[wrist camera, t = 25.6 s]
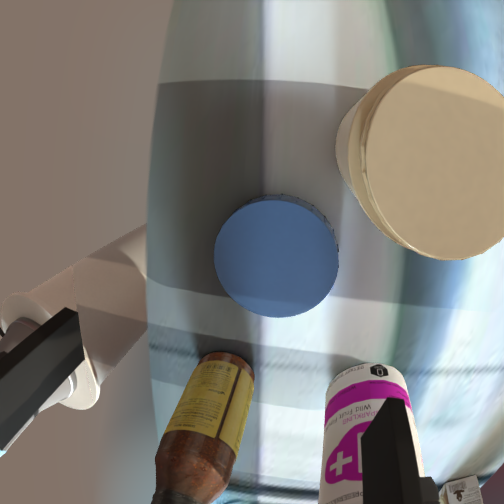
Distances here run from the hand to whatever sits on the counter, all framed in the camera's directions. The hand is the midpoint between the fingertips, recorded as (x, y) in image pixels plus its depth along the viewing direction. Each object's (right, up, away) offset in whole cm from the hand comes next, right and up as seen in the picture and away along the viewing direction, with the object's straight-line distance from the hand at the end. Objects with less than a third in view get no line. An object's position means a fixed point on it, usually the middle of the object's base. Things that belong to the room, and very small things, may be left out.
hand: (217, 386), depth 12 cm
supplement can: (+13, -9, +17) cm, 23 cm away
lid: (+3, +5, +12) cm, 14 cm away
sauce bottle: (-1, -7, +20) cm, 21 cm away
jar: (+12, +13, +10) cm, 20 cm away
